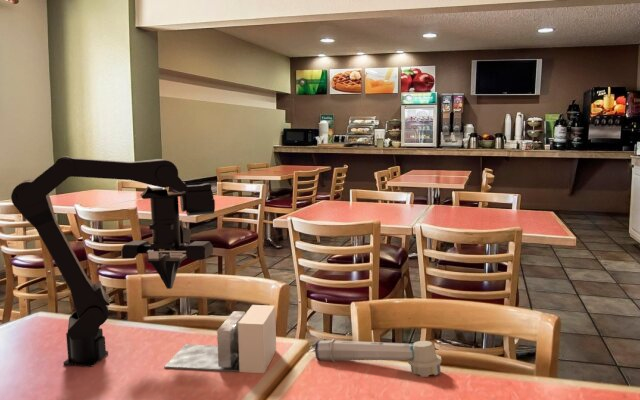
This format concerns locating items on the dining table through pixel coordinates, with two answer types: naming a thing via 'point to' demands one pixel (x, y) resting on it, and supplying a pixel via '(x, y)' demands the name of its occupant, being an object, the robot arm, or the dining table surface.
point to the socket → (257, 338)
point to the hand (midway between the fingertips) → (169, 288)
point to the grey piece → (229, 340)
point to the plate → (199, 359)
